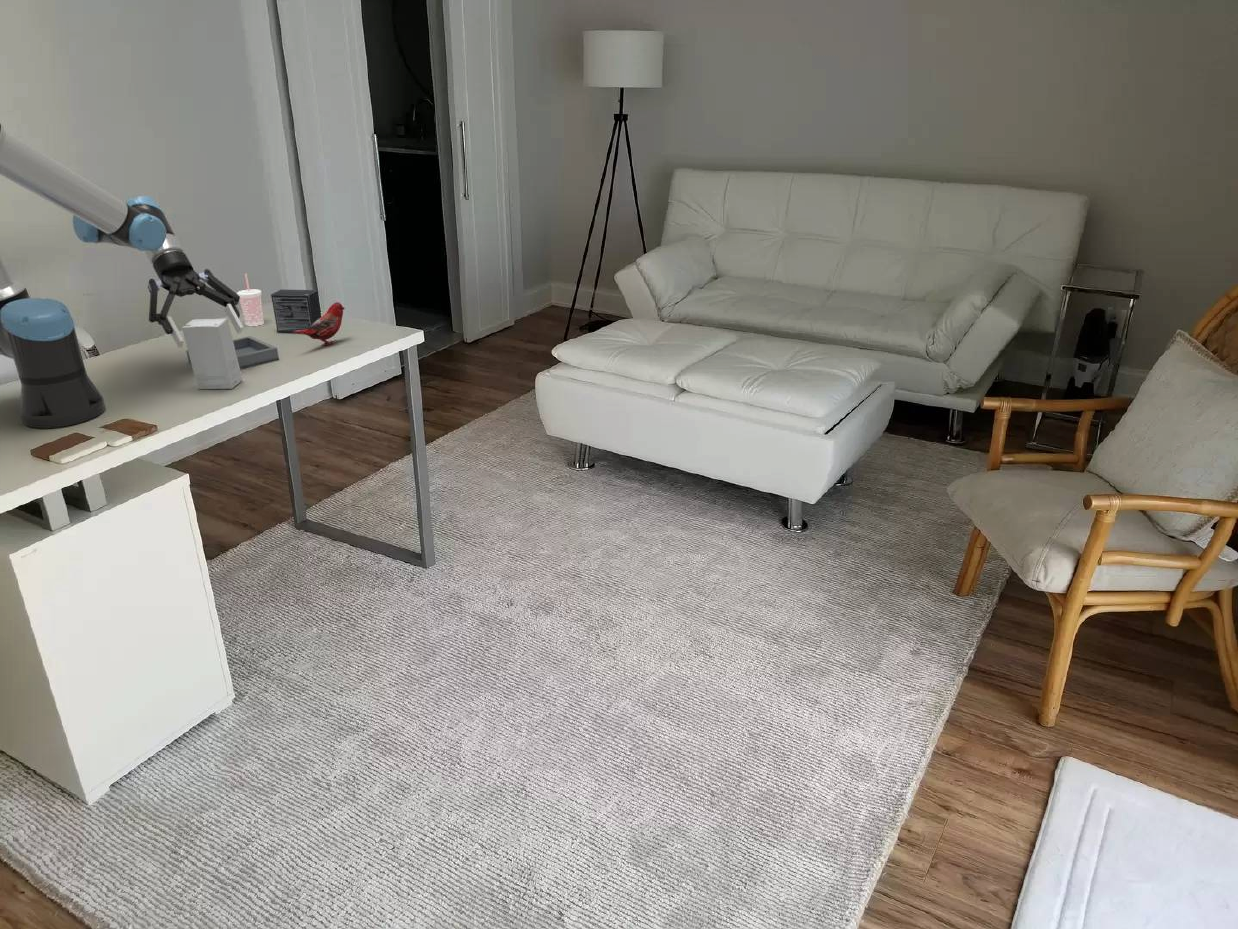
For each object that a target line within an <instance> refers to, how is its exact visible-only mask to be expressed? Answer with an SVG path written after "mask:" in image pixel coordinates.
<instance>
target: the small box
mask: <svg viewBox="0 0 1238 929" xmlns="http://www.w3.org/2000/svg"><path fill="white" fill-rule="evenodd" d="M270 296H271V302H272V308H273V313H274V319H275V325H276V333H278V334H293V333H292V331H299V330H306V329H308V328H309V326H311V325H312V324H313V323H314V322H315V321H316V320H318V319H319V318H321V317H322V313H321V306H320V305H321V304H320V299H319V292H318V290H317V289H279V290H277V291H275V292H273V293H271V294H270Z"/></svg>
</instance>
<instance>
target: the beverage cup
mask: <svg viewBox="0 0 1238 929" xmlns="http://www.w3.org/2000/svg"><path fill="white" fill-rule="evenodd" d="M244 276H245V282H246V288H247V289H244V290H238V292H236V294H237V295H239V296H240V299H239V303H240V307H241V311H242V314H243V318H244V323H245V326H246V325H248V326H256V327H259V326H258V325H261V326H263V325H264V324H265V322H264V314H263V306H262V305H263V304H262V290H261V289H258V288H257V289H256V288H255V289H254V288H253V289H251V288H250V286H249V285H250V284H249V279H248V274H247V272H246V273H244ZM248 326H247V327H248Z"/></svg>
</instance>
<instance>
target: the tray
mask: <svg viewBox="0 0 1238 929" xmlns="http://www.w3.org/2000/svg"><path fill="white" fill-rule="evenodd" d="M233 343H234V347H235V351H236V355H237V359H238V363H239V367H240V370H242V369H241V368H244V369H247V368H252V367H255V366H259V365H263V363H264V364H267V362H268V363H271V362H275V361H279V360H280V359H279V358H280V357H279V352H278V347H275V346H273V345H272V344H269V343H267V342H265V341H262V340H260V339H258V338H256V337H253V336H251V335H248V336H243V337H239V338H235V339H233ZM186 355H187V360H188V363H189V362H191V360H190V357H189V353H188V349H186Z"/></svg>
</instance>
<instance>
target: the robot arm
mask: <svg viewBox="0 0 1238 929" xmlns="http://www.w3.org/2000/svg"><path fill="white" fill-rule="evenodd" d="M3 126H4V125H3V122H2V121H0V176H1V177H4V178H6V179H7V180H10V181H11V182H13V183H15V184H17V185H18V186H20V187H22V188H23V189H25V190H28V191H29V192H31V193H33V194H34V195H36V196H37V197H38V196H39V197H40V198H42V199H44V200H45V201H47V202H49V203H50V204H53V205H54V206H56V207H58V208H60V209H62V210H64V211H66V212H67V213H68V214H71V215H73V216H72V227H73V230H74V232H75V234H76V236H77V238H78V239H79V240H80V241H82V242H84V243H89V244H91V243H93V244H98V243H99V244H100V243H104V244H111V245H117V246H122V247H126V248H131V249H135V250H138V251H140V252H141V251H142V252H143V251H144V253H145V255H146V257H147V258H148V260H149V263H150V264H151V265H152V268H153V270H154V272H155V273H156V275H157V277H158V279H159V280H155V279H154V278H149V280H148V284H147V289H148V292H149V294H150V296H149V311H148V321H149V322H150V323H157V324H158V325H160V326H161V327H162V328H163V330H164V332H165V333H166V334H167V335H171V337H172V338H173V340H174V342H175V344H176V346H177V347H178V349H180V348H183V345H184V343H185V339H184V338H183V336H182V335H181V333H180V331H179V329H178V327H177V325H176V323H175V322H174V320H173V318H172V316H171V315H169V316H168V314H169V311H170V309H171V306H172V304H173V302H174V299H175V297H176V296H177V297H179V298H182V297H184V296H194V294H196V295H199V296H203V297H205V298H207V299H209V300H211V301H213V302H214V303H216V304H218V305H221V306H222V307H224V312H225V313H226V315H227V317H228V320H229V321H230V322H231V324H232V326H233V328H234V330H235V331H236V334H237V335H241V334H242V332H243V329H244V326H243V323H242V322H241V320H240V316H241V313H240V311H239V309H238V308H237V305H239V303H240V300H239V299H240V296H239V295H237V292H235V291H233V290H232V289H231V288H230V287H228V286H227V285H226V284H225V283H223V282H222V281H221V280H219V278H217V277H215V275H213V273H212V272H211V270H210V269H209V268H205V269H204V271H203V272H200V273H198V272H196V271H195V270H194V267H193V265H192V263H191V261H190V260H189V258H188V256H187V254H186V253H185V250H184V249H183V247H182V246H181V244H180V242H179V239H178V238H177V236H176V235H175V233H174V231H173V229H172V227H171V225H170V224H169V222H168V220H167V217H166V216H165V213H164V212H163V210H162V209H161V207H160V206H159V204H158V203H157V202H156V200H155V199H153V198H152V197H150V196H147V195H138V196H137V197H131V198H128V200H126V201H125V202H124V201H122V200H121V199H120V198H118V197H117V196H115V195H114V194H111V193H110V192H108V191H106V190H105V189H103V188H101V187H100V186H98V185H96V183H95V184H94V183H93V182H91V181H89V180H88V179H86V178H84V176H81V175H79V174H78V173H76V172H75V171H73V170H71V169H70V168H68V167H67V166H64V165H63V164H61V163H60V162H58V161H57V160H55V159H53V158H51V157H50V156H48V155H46V154H45V153H43V152H42V151H40V150H38V149H37V148H35V147H33V146H31V145H30V144H28V143H27V142H25V141H23V140H22V139H20V138H19V137H16V136H15V135H13V134H12V133H10V132H9V131H7V130H6V129H4V127H3ZM201 280H202V281H201ZM206 284H207V285H208V286H207V285H206ZM161 288H163V289H164V290H166V291H168V293H167V296H166V298H165V301H164V304H163V306H162V308H161V311H160V313H157V309H158V294H159V291H160V289H161ZM0 356H4V357H5V358H8V359H12V360H13V361H14V365H15V368H16V371H17V374H18V375H17V376H18V377H19V382H20V384H21V387H20V400H19V402H20V403H19V416H20V419H21V422H22V424H23V425H24V426H26V427H29V428H35V429H53V428H62V427H67V426H72V425H76V424H81V423H84V422H87V421H90V420H92V419H94V418H96V417H99V416H100V415H102V413H104V411H105V410H106V405H105V401H104V397H103V396H102V395H101V393H100V391H99V389H97V387H96V386H95V384H94V383H93V381H92V380H91V379H90V377H89V375H88V374H87V370H86V367H85V362H84V358H83V355H82V352H81V348H80V344H79V340H78V336H77V333H76V329H75V322H74V319H73V317H72V315H71V312H70V310H69V308H68V306H67V305H66V304H64V303H63V302H62V301H59V300H57V299H53V298H47V297H46V298H41V297H31V296H30V294H29V292H28V290H27V288H26V286H25V284H24V283H21V281H17V280H16V279H13V278H12V275H11V273H10V271H9V269H8V267H7V265H6V262H5V260H4V258H3V255H2V253H1V252H0Z"/></svg>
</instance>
